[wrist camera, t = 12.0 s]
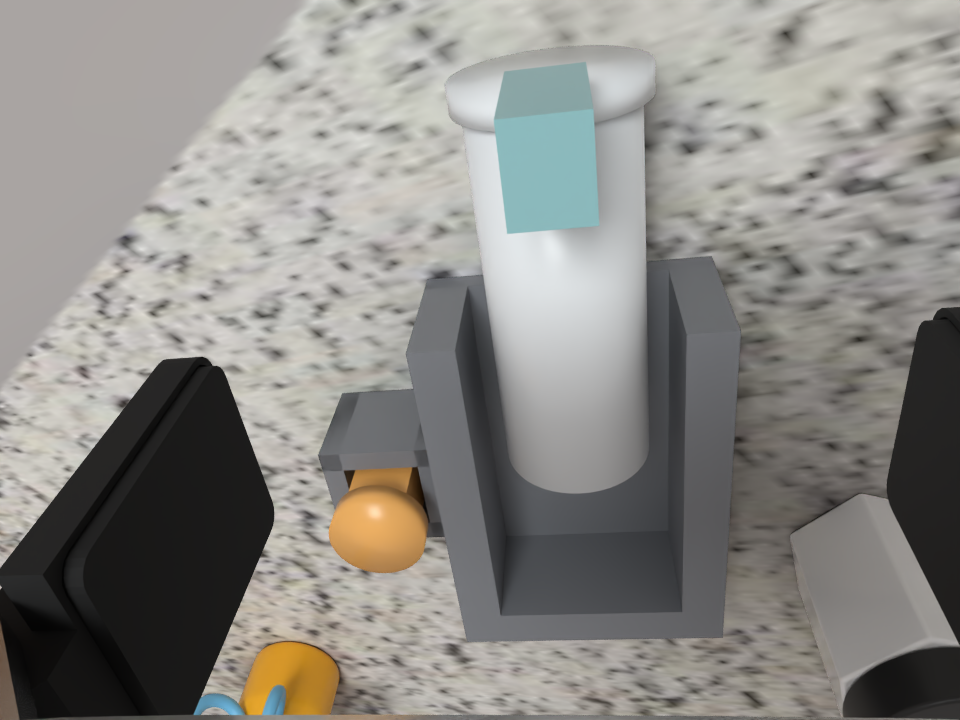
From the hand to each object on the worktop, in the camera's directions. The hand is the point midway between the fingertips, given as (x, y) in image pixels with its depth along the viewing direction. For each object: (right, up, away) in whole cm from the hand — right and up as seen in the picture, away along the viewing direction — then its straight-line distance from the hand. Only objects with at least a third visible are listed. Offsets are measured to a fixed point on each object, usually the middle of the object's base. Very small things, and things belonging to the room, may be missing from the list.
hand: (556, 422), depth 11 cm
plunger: (-5, -4, +30) cm, 31 cm away
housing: (+1, -3, +30) cm, 30 cm away
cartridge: (+3, +6, +23) cm, 24 cm away
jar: (+21, -10, +33) cm, 40 cm away
